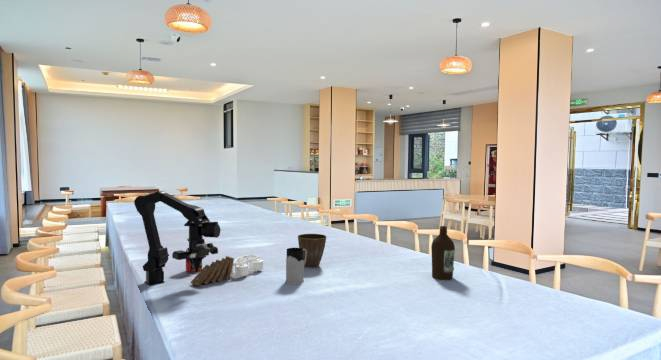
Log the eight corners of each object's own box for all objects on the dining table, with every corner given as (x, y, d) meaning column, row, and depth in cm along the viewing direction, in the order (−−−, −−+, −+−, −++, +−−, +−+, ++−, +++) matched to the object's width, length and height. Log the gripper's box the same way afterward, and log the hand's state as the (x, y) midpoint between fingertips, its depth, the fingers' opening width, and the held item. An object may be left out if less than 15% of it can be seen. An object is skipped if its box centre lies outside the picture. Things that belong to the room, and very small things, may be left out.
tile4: (217, 280, 182) (226, 259, 185) (212, 278, 186) (221, 257, 188) (220, 281, 183) (230, 260, 186) (215, 279, 187) (225, 258, 190)
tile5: (225, 279, 185) (230, 258, 186) (220, 277, 189) (225, 256, 190) (229, 280, 186) (234, 258, 187) (224, 277, 190) (229, 256, 191)
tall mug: (281, 283, 182) (281, 250, 182) (298, 275, 195) (298, 244, 194) (297, 286, 178) (297, 252, 178) (313, 278, 191) (314, 246, 190)
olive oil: (425, 277, 193) (427, 225, 192) (441, 274, 199) (442, 223, 198) (443, 283, 185) (444, 228, 184) (458, 279, 190) (460, 226, 189)
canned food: (191, 274, 196) (191, 251, 195) (182, 271, 200) (182, 249, 200) (205, 270, 202) (205, 248, 201) (195, 268, 206) (195, 246, 206)
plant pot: (327, 263, 219) (327, 234, 218) (324, 270, 204) (324, 239, 203) (300, 262, 220) (300, 233, 219) (295, 269, 205) (295, 238, 205)
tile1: (195, 284, 174) (211, 266, 180) (190, 281, 178) (205, 264, 183) (198, 287, 175) (214, 268, 180) (192, 284, 179) (208, 266, 184)
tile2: (203, 282, 177) (217, 263, 181) (198, 280, 181) (212, 261, 185) (207, 285, 178) (220, 265, 182) (201, 282, 182) (215, 263, 186)
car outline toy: (239, 280, 186) (239, 264, 185) (222, 277, 191) (222, 261, 191) (267, 271, 203) (267, 256, 203) (250, 267, 208) (250, 253, 208)
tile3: (211, 281, 180) (222, 260, 184) (205, 279, 183) (216, 259, 187) (214, 283, 181) (225, 262, 185) (208, 281, 184) (219, 260, 188)
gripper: (184, 241, 164) (184, 280, 165) (224, 236, 177) (224, 271, 178) (171, 238, 172) (171, 274, 172) (211, 233, 185) (211, 267, 186)
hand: (195, 272), depth 177 cm, fingers closed
